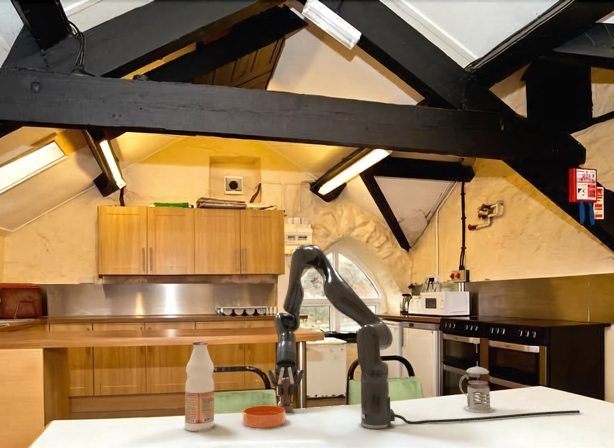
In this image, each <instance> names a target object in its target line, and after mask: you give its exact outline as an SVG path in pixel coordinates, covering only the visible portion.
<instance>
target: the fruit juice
mask: <svg viewBox="0 0 614 448" xmlns="http://www.w3.org/2000/svg"><path fill="white" fill-rule="evenodd" d="M208 344H209V341H208V340H204V339H200V340H199V339H197V340H193V341H192V347H193V349H192V351H191V355H190V357H189V360H188V362H187V363H186V367H185V373H186V376H187V378H186V381H185V385H184V387H185V388H184V392H185V393H184V402H185V403H184V428H185V429H186V430H187V431H189V432H191V431H192V432H199V431H200V430H204V429H205V430H206V429H210V428H212V427H213V426H214V424H215V380H214V378H213V375H214V371H215V365H214V362H213V360H212V359H211V356H210V353H209V350H208Z"/></svg>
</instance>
